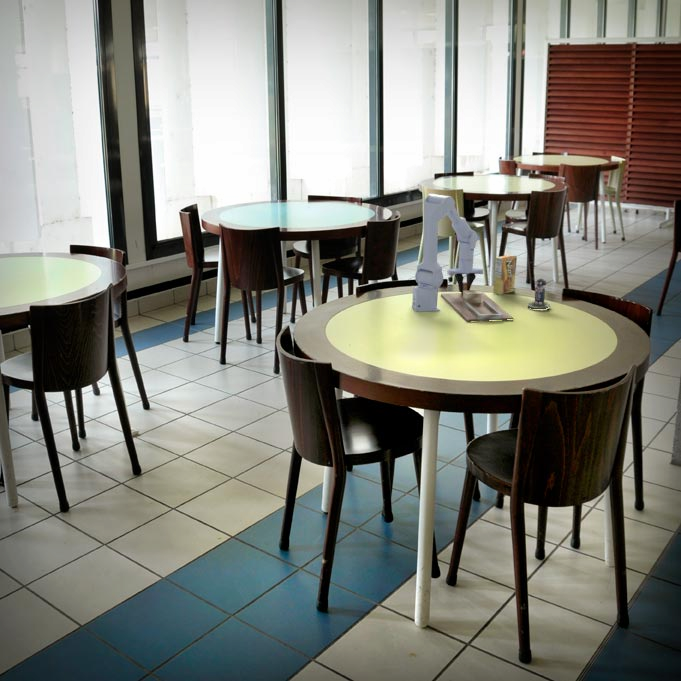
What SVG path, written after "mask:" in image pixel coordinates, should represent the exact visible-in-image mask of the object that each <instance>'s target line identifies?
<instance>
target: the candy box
mask: <svg viewBox="0 0 681 681" xmlns="http://www.w3.org/2000/svg"><path fill="white" fill-rule="evenodd" d="M517 259H518V257H517V256H516V255H512V254H506V255H502V256H501V255H500V256H496V257H495V266H494V276H493V277H494V281H493V291H492V293H493V294H497V295H500V296H501V295H504V294H509V293H512V292H514V291H515V282H516V281H515V280H516V272H517V271H516V270H517ZM509 288H514V289H509ZM513 290H514V291H513Z"/></svg>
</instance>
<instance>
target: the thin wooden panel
mask: <svg viewBox="0 0 681 681" xmlns="http://www.w3.org/2000/svg"><path fill="white" fill-rule="evenodd" d="M481 293H482V296H481V303H471V304H469V303H468V302H467V301H463V295H461V292H459V293H458V292H457V293H453V292H451V293H440V298H442V299H443V300H444V301H445V302H446V303H447V304H448V305H449V306H450V307H451V309H453V310H454V311H455V312H456V313H457V314H458V315H459V317H461V318H462V319H463V320H464V321H465V322H466V323H472V322H471V321H484V322H490V321H489V320H507V319H513V320H514V317H513V315H511V314H509V313H508V312H507V311H506V310H505V309H503V308H502V307H501V306H500V305H499V304H498V303H497V302H495V301H494V300H492V298H490V297H489V296H488V295H487V294H485V293H484V292H481Z"/></svg>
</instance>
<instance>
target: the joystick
mask: <svg viewBox="0 0 681 681" xmlns="http://www.w3.org/2000/svg"><path fill="white" fill-rule="evenodd" d="M467 287H468V283H467V281H463V285H462V292H460V293H461V295H463V301H467V302H468V303H469V304H471V303H481V296H482V293H483V292H481V291H479V290H478V289H473V290H472V289H470V290H467Z"/></svg>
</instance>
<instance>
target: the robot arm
mask: <svg viewBox="0 0 681 681" xmlns="http://www.w3.org/2000/svg"><path fill="white" fill-rule="evenodd" d="M455 205H456V201H455V200H454V198H453V197H452V196H450V195H443V194H441V195H439V194H437V193H436V194H435V193H429V194H428V195H427V196H426V197H425V199H424V200H423V239H422V240H423V242H422V244H423V245H422V249H423V250H422V252H423V253H422V262H420V263H419V264H417V266H416V272H415V276H414V279H415V281H416V283H417V286H414V287H413V289H412V301H411V302H412V303H411V307H412V309H414V310H415V311H416V312H437V311H438V312H440V311H441V308H439V307H438V294H439V292H438V291H439V288H440V287H441V285H442V284H443V282H444V274H443V268H442V266H441V265H440V264H439V262H438V245H439V244H438V235H439V221H440V220H442V219H444V218H445V217H446V216H447V217H448V218H449V220H450V221H451V227H452V229H453V231H454V232H455V234H456V240H457V242H458V243H459V252H458V254H459V255H458V268H450V269H447V273H446V274H447V275H448V276H451V275H452V276H453V275H454V277H455V279H456V282H457V286H458V292H459V293H461V292H462V285H463V282H464V279H465V277H466V282H467V283H468V287H467V290H471V287H472V284H473V282H474V281H475V279H476V275H483V274H484V269H483V268H475V267H474V256H475V253H474V252H475V249H476V246H477V243H478V242H477V241H478V238H479V236H478V233H477V232H476V230H473V229H472V228H471V226H470V225H469V224H468V222H467V220H466V217H463V216H460V215H459V212H458V211H457V209H456V207H455ZM463 275H466V276H465V277H464V276H463Z"/></svg>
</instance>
